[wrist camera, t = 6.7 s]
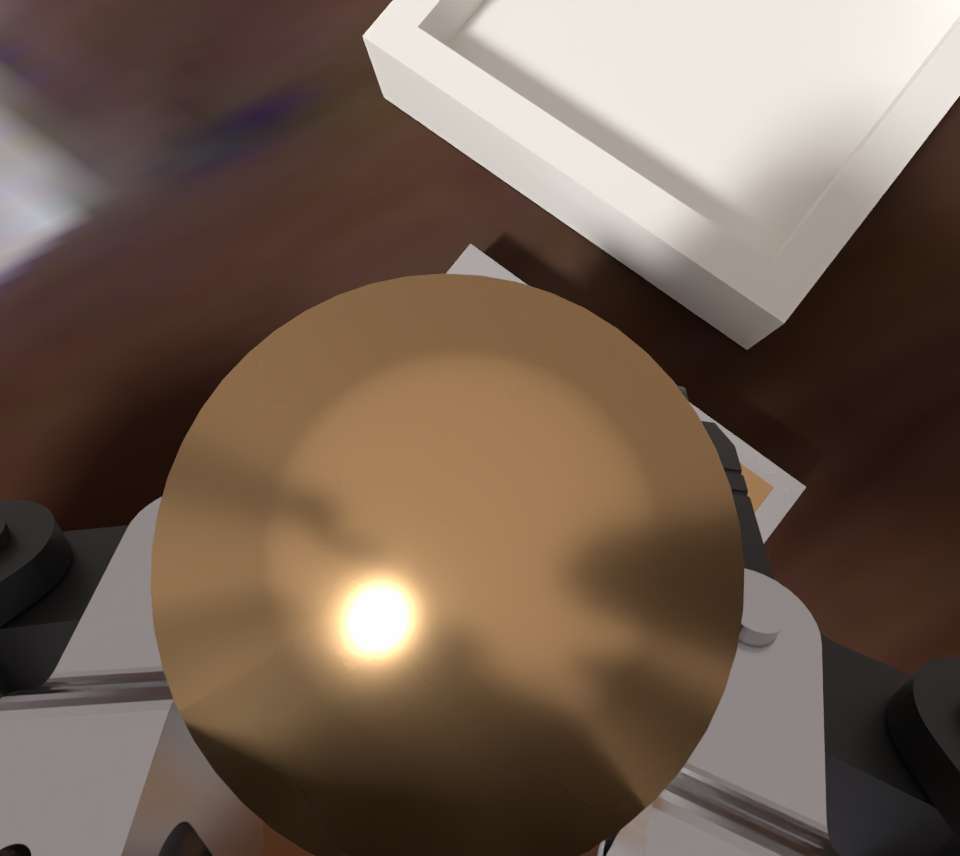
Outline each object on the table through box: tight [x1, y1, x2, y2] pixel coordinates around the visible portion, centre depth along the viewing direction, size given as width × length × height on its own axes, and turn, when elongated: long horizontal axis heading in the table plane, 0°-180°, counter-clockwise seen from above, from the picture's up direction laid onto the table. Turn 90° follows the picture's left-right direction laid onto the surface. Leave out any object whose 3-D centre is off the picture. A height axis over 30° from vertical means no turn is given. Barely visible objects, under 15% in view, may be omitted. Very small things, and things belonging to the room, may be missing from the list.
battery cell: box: [150, 274, 744, 856], centre depth 9 cm, size 4×4×10 cm
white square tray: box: [362, 0, 960, 350], centre depth 15 cm, size 12×12×2 cm
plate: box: [446, 244, 806, 543], centre depth 14 cm, size 10×10×1 cm
